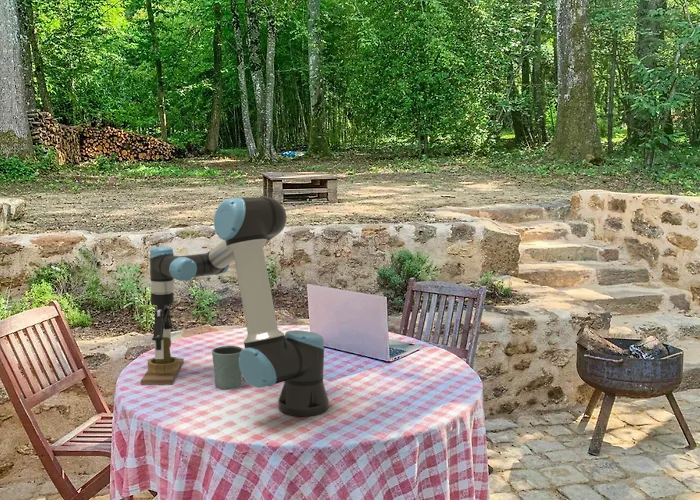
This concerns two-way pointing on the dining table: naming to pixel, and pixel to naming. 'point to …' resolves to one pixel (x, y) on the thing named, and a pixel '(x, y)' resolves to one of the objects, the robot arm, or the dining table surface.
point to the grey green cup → (227, 367)
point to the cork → (165, 352)
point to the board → (162, 372)
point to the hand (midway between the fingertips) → (163, 352)
